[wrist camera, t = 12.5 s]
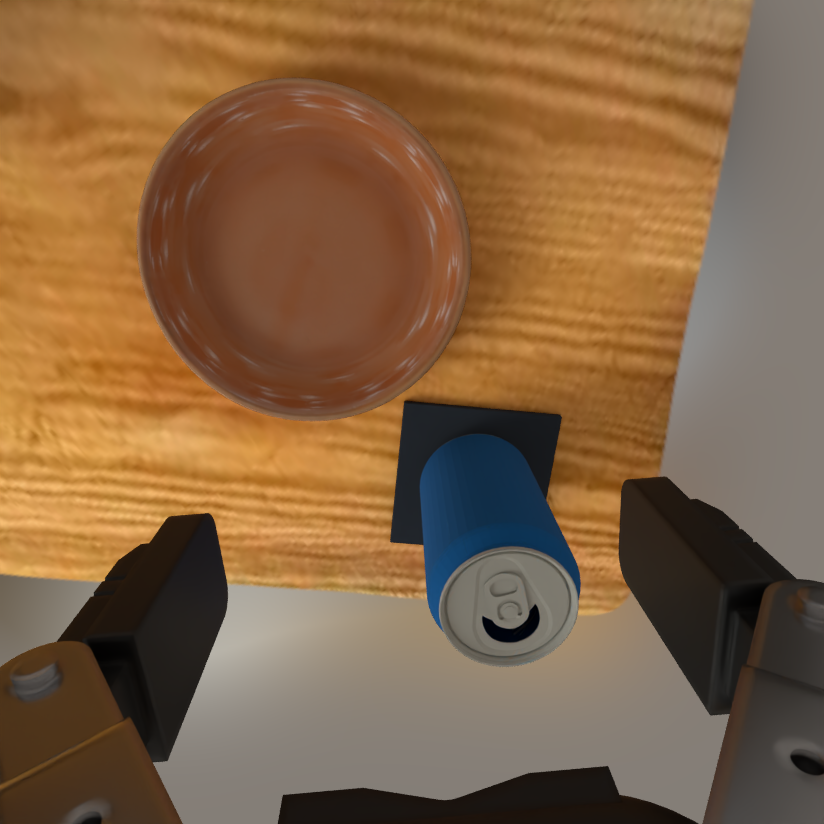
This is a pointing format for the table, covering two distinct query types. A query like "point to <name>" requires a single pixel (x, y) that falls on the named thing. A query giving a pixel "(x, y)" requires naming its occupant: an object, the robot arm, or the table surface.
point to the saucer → (303, 249)
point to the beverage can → (494, 554)
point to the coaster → (443, 423)
